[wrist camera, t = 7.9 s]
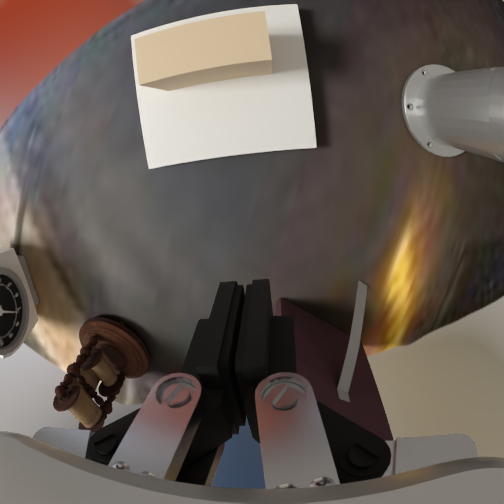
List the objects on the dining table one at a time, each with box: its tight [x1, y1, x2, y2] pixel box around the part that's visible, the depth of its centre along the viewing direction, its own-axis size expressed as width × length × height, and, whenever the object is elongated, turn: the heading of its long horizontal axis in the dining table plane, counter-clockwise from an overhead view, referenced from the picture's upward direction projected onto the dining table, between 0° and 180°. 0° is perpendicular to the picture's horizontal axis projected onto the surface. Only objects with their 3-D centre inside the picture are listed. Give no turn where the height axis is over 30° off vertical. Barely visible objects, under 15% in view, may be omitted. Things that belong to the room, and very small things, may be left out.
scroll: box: [53, 317, 150, 433], centre depth 41 cm, size 15×15×20 cm
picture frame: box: [276, 280, 394, 441], centre depth 31 cm, size 17×10×25 cm, turn 58°
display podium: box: [131, 4, 317, 169], centre depth 29 cm, size 20×18×2 cm
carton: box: [134, 11, 272, 91], centre depth 24 cm, size 12×8×5 cm
